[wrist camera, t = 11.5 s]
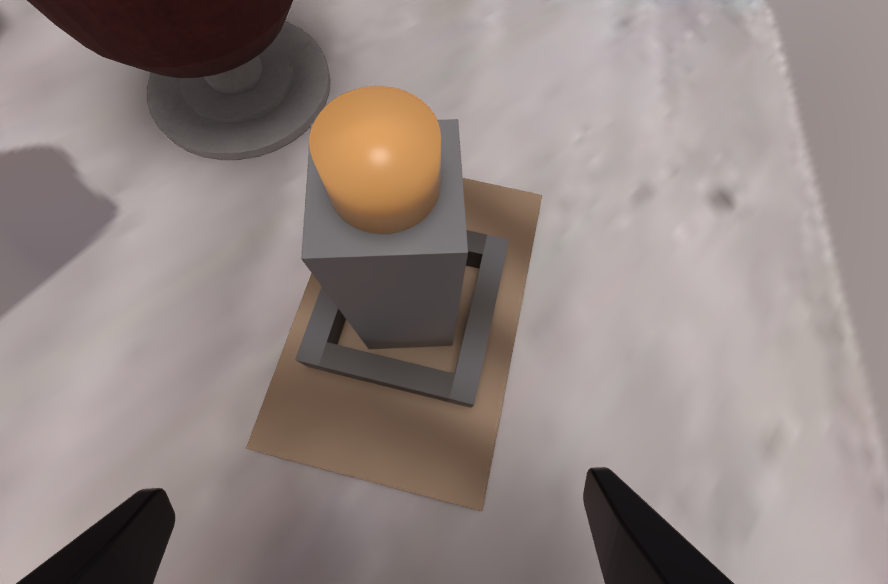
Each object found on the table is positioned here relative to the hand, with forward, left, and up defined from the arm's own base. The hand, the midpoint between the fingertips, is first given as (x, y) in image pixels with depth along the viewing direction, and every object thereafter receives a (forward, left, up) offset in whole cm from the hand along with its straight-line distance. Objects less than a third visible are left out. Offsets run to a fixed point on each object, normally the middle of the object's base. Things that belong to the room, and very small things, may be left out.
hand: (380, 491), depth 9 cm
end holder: (+8, +2, -13) cm, 16 cm away
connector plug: (+8, +2, -13) cm, 15 cm away
